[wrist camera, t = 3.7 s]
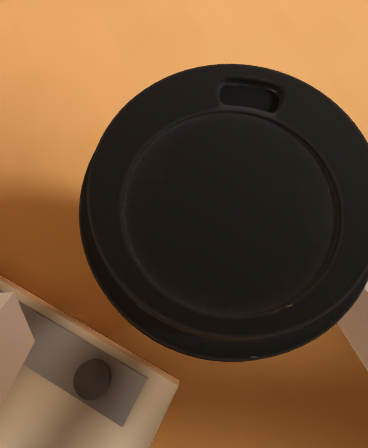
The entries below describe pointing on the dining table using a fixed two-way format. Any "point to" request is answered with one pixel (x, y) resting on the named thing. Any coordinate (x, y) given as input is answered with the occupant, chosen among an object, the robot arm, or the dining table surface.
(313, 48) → the dining table surface
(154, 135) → the coffee cup
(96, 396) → the control board
